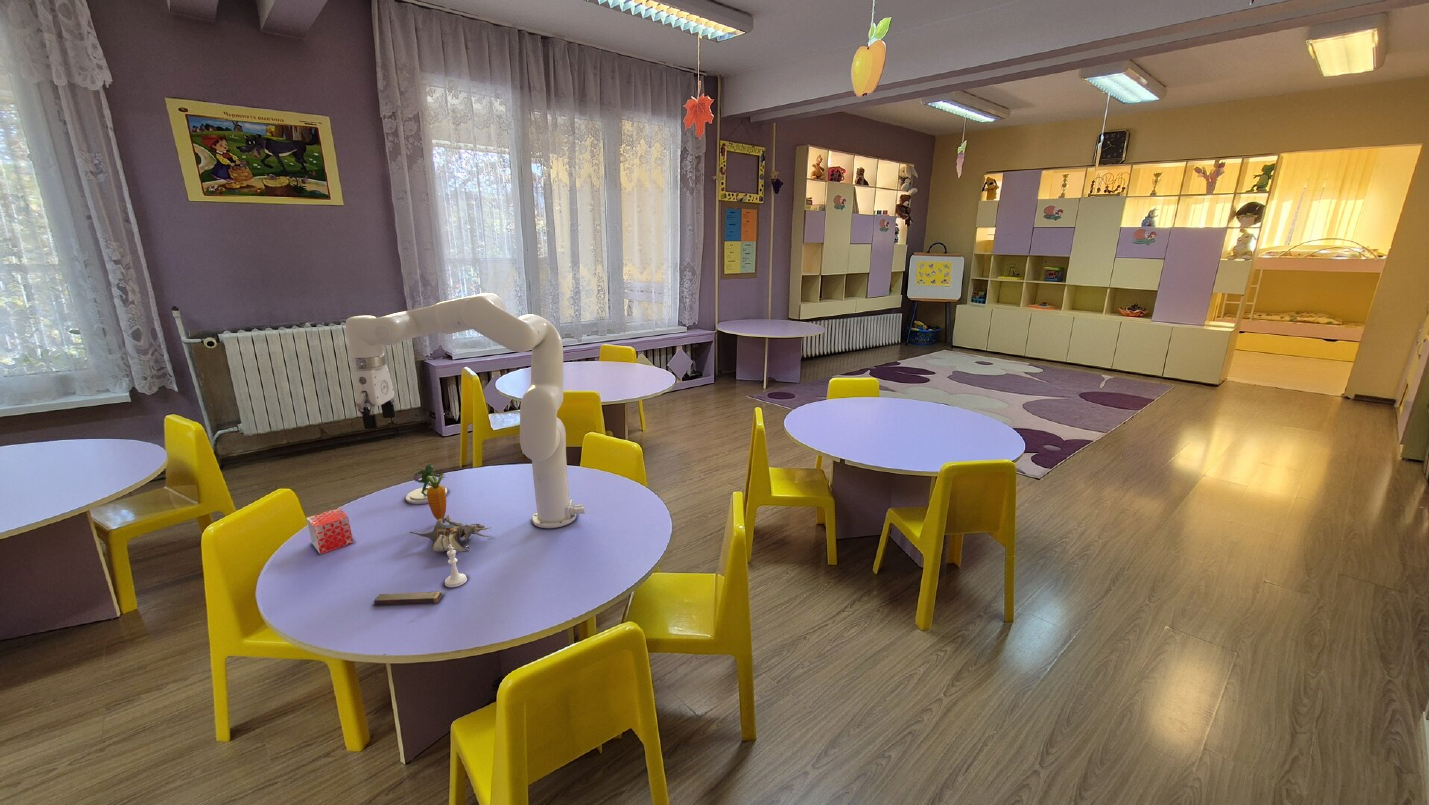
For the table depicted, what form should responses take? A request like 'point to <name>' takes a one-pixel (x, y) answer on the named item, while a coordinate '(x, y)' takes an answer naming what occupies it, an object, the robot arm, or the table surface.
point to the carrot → (436, 497)
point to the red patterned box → (330, 530)
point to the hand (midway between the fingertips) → (380, 422)
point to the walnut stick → (408, 598)
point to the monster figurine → (421, 494)
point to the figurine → (451, 534)
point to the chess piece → (454, 571)
